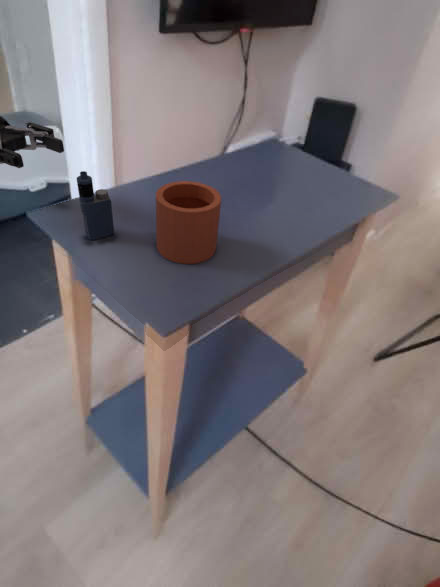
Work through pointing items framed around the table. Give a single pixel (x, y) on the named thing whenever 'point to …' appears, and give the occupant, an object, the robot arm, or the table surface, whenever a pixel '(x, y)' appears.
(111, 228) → the vaping device
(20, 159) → the robot arm
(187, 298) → the table surface
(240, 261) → the table surface
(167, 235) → the terracotta planter pot
